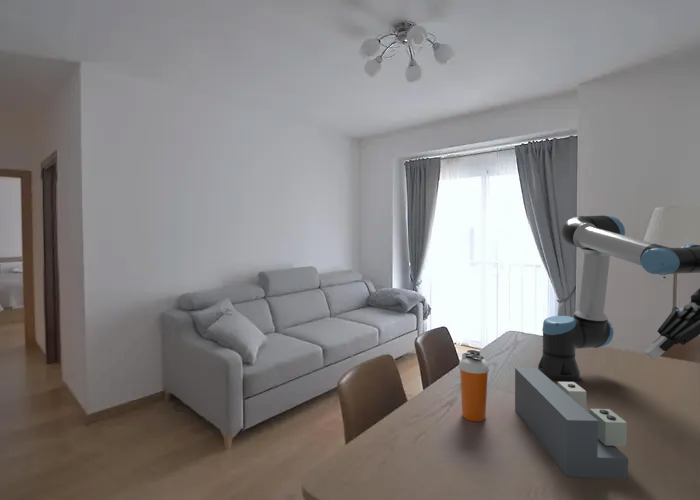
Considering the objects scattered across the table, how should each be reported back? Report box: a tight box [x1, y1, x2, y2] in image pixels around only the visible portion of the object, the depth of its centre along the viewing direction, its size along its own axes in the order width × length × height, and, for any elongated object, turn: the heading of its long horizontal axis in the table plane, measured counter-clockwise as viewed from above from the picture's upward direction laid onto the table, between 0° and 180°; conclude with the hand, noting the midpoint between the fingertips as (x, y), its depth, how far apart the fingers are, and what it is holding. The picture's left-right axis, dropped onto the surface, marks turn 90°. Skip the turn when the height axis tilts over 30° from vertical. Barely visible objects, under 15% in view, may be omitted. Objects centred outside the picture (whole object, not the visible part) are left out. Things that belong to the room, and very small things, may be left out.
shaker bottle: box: [458, 352, 490, 422], centre depth 119 cm, size 9×9×20 cm
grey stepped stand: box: [514, 367, 629, 480], centre depth 106 cm, size 14×34×14 cm, turn 176°
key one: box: [556, 381, 587, 411], centre depth 114 cm, size 5×7×6 cm
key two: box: [589, 408, 628, 447], centre depth 96 cm, size 5×7×6 cm
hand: (649, 356), depth 103 cm, fingers closed
